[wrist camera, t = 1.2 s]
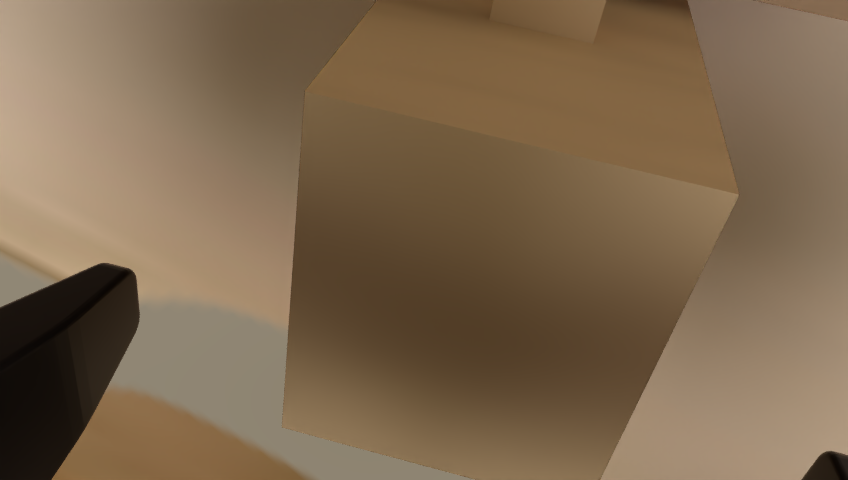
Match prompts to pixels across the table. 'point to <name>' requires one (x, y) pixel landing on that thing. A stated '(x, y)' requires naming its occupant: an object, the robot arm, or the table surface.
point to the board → (815, 7)
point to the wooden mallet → (499, 229)
